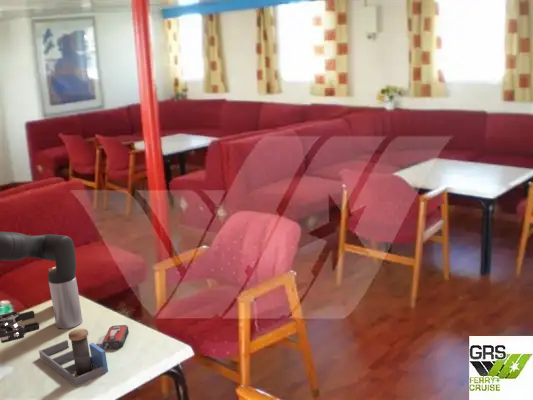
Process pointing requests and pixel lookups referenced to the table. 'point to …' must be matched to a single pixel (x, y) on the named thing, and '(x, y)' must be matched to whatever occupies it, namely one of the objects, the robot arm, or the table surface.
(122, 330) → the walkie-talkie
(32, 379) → the table surface
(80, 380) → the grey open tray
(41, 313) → the table surface
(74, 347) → the cord spool
